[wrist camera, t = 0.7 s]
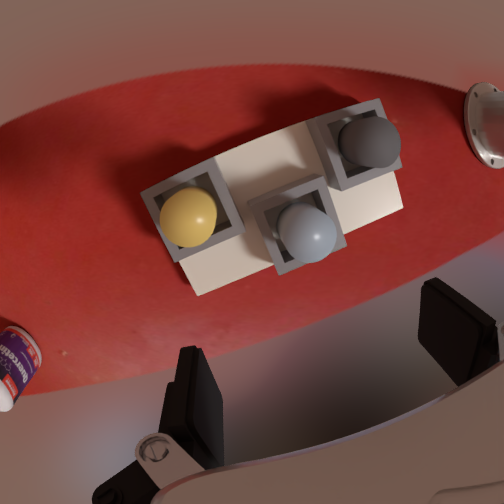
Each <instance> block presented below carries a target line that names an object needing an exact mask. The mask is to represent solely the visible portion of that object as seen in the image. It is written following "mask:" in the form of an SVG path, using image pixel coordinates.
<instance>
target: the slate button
mask: <svg viewBox="0 0 504 504" xmlns="http://www.w3.org/2000/svg"><path fill="white" fill-rule="evenodd" d="M276 229H277V233H278V235H279V237H280V239H281V240H282V242H283V244H284V245H285V247H286V249H287V250H288V252H289V253H290V255H291V256H292V257H294V258H295V259H296V260H298V261H301V262H305V263H313V262H317V261H320V260H322V259H323V258H325V257H326V256H327V255H328V254H329V253H330V252H331V251H332V249H333V248H334V245H335V243H336V238H337V231H336V227H335V224H334V222H333V221H332V219H331V218H330V217H329V216H328V215H326V214H325V213H323V212H322V211H320V210H319V209H317V208H316V207H314V206H312V205H311V204H309V203H306V202H295V203H291V204H289V205H288V206H286V207H285V208H284V209H283V210H282V211H281V212H280V214H279V216H278V218H277V223H276Z"/></svg>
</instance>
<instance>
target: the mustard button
mask: <svg viewBox="0 0 504 504" xmlns="http://www.w3.org/2000/svg"><path fill="white" fill-rule="evenodd" d="M216 218H217V203H216V200H215V198H214V197H213V195H212V194H211V193H210V192H209V191H207V190H206V189H204V188H202V187H198V186H189V187H185V188H183V189H181V190H179V191H178V192H177V193H175V194H174V195H173V196H172V197H170V198H169V199H168V200H167V201H166V202H165V203H164V205H163V207H162V209H161V212H160V226H161V229H162V232H163V233H164V235H165V236H166V238H167V239H168V240H169V241H171V242H172V243H174V244H176V245H178V246H181V247H195V246H198V245H201V244H202V243H204V242H205V241H206V240H208V239H209V237H210V236H211V235H212V233H213V231H214V228H215V223H216Z"/></svg>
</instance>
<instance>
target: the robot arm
mask: <svg viewBox="0 0 504 504" xmlns="http://www.w3.org/2000/svg"><path fill="white" fill-rule="evenodd" d="M464 121H465V128H466V132H467V136H468V139H469V142H470V145H471V147H472V149H473V151H474V153H475V154H476V156H477V158H478V159H479V160H480V161H481V162H482V163H483V164H484V165H486V166H488V167H490V168H495V169H499V168H502V167H504V91H503V92H502V91H501V92H500V91H499V90H498V89H497V88H496V87H495V86H493V85H492V84H489V83H487V82H481V83H477V84H475V85H473V86H472V87H471V88H470V89H469V91H468V93H467V95H466V98H465V103H464ZM495 324H496V320H494V319H493V318H492V317H490V316H489V315H488V314H486V313H485V312H484V311H483V310H481V309H480V308H479V307H477V306H476V305H475V304H473V303H472V302H471V301H469V300H468V299H467V298H465V297H464V296H463V295H461V294H460V293H458V292H457V291H455V290H454V289H453V288H451V287H450V286H449V285H447V284H446V283H444V282H443V281H441V280H440V279H439V278H436V277H435V278H432V279H430V280H427V281H425V282H424V285H423V286H422V288H421V302H420V316H419V329H418V340H419V342H420V343H421V345H422V346H423V347H424V348H425V349H426V350H427V351H428V352H429V354H430V355H431V356H432V357H433V358H434V359H435V360H436V361H437V363H438V364H439V365H440V366H441V367H442V368H443V370H444V371H445V372H446V373H447V374H448V375H449V377H450V378H451V379H452V380H453V381H454V383H455V384H456V385H457V386H458V387H457V388H455V389H453V390H452V391H450V392H448V393H446V394H445V395H442V396H441V397H439V398H437V399H435V400H433V401H431V402H429V403H427V404H425V405H423V406H421V407H419V408H416V409H414V410H412V411H410V412H408V413H406V414H403V415H401V416H399V417H397V418H394V419H392V420H389V421H387V422H384V423H382V424H380V425H377V426H375V427H372V428H369V429H366V430H364V431H361V432H358V433H355V434H353V435H350V436H347V437H344V438H341V439H338V440H334V441H331V442H328V443H324V444H321V445H318V446H314V447H310V448H307V449H303V450H299V451H295V452H291V453H287V454H282V455H278V456H273V457H269V458H264V459H259V460H254V461H248V462H243V463H238V464H233V465H227V466H224V439H223V400H222V395H221V392H220V390H219V388H218V386H217V384H216V381H215V379H214V377H213V374H212V372H211V370H210V367H209V365H208V363H207V360H206V358H205V355H204V353H203V351H202V349H201V348H197V347H196V346H195V345H193V346H188V347H183V348H181V349H180V354H179V359H178V364H177V369H176V375H175V380H174V382H169V383H168V385H167V388H166V393H165V398H164V404H163V409H162V414H161V420H160V425H159V431H158V433H153V434H150V435H148V436H146V437H144V438H143V439H142V440H140V441H139V443H138V444H137V446H136V449H135V456H136V458H137V460H135V461H134V462H133V463H131V464H130V465H129V466H127V467H126V468H124V469H123V470H122V471H120V472H119V473H117V474H116V475H114V476H113V477H112V478H110V479H109V480H107V481H106V482H104V483H103V484H101V485H100V486H99V487H98V488H96V490H95V491H94V493H93V496H92V504H504V322H502V323H501V324H500V325H499V326H498V328H497V327H496V326H495Z"/></svg>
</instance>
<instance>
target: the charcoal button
mask: <svg viewBox="0 0 504 504" xmlns="http://www.w3.org/2000/svg"><path fill="white" fill-rule="evenodd" d="M338 147H339V150H340V153H341V154H342V156H343V157H344V158H345V159H346V160H347V161H348V162H350V163H351V164H354V165H359V166H367V167H374V168H386V167H388V166H390V165H392V164H393V163H394V162H395V161H396V160H397V158H398V156H399V153H400V149H401V141H400V136H399V133H398V131H397V129H396V128H395V126H394V125H393V124H392V123H391V122H390V121H388V120H387V119H385V118H382V117H377V116H376V117H369V118H364V119H360V120H355V121H351V122H348V123H347V124H345V125H344V126H343V127H342V129H341V130H340V132H339V135H338Z"/></svg>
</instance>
